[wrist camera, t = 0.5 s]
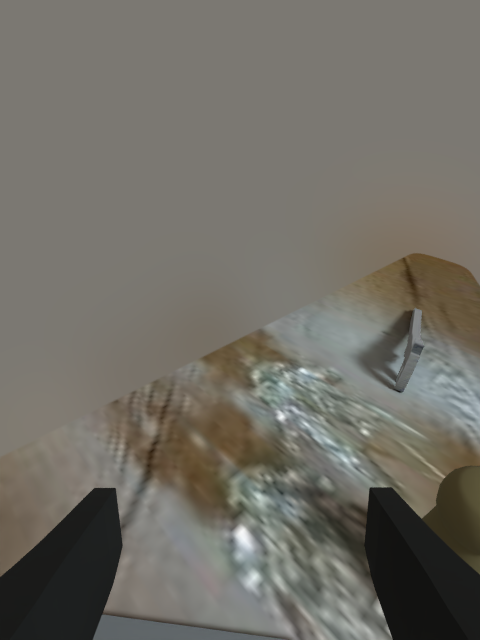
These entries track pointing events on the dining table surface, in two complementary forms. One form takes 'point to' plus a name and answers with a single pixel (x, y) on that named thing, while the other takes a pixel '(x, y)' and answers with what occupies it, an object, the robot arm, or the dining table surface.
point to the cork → (459, 514)
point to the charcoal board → (161, 631)
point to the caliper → (411, 351)
